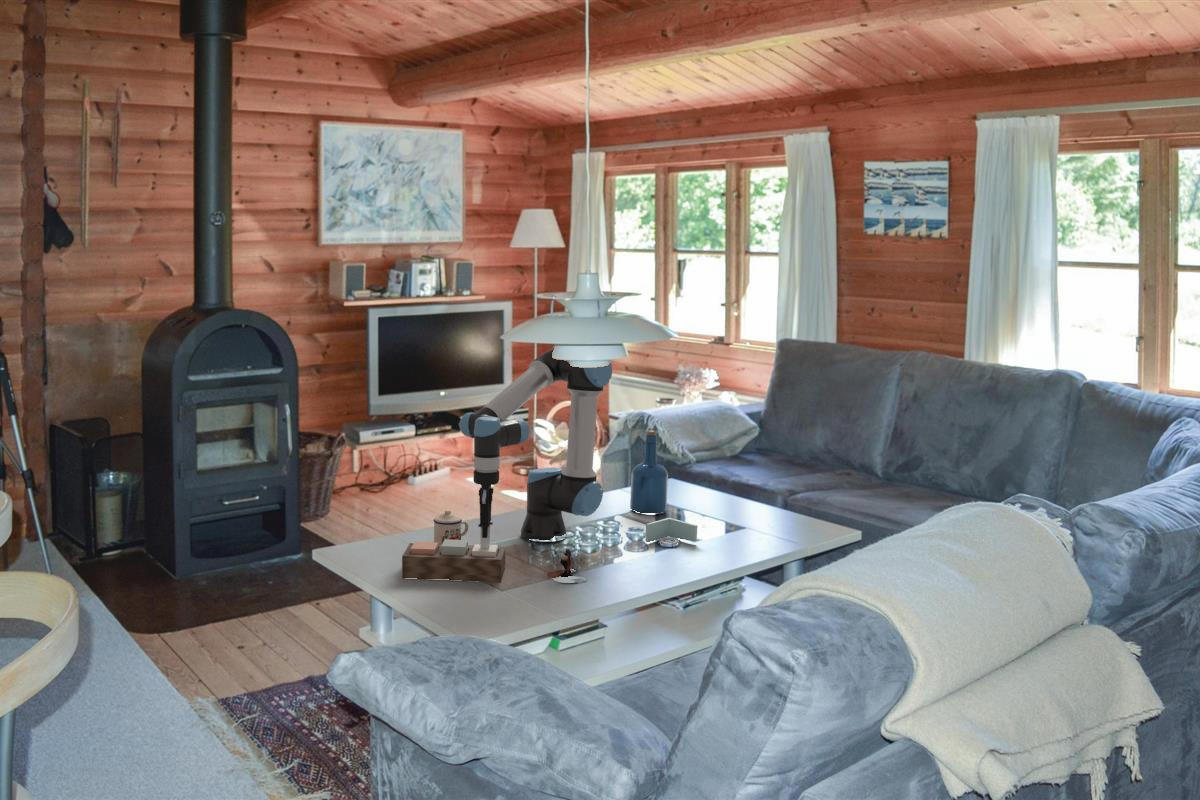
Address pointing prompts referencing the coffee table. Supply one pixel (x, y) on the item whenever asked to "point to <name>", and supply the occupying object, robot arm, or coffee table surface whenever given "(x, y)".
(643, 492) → the wine bottle
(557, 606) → the coffee table surface
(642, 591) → the coffee table surface
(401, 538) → the coffee table surface
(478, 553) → the cream key
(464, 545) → the slate key
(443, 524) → the teacup with lid
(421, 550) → the pink square block
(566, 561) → the figurine
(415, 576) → the frame
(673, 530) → the right angle wall
